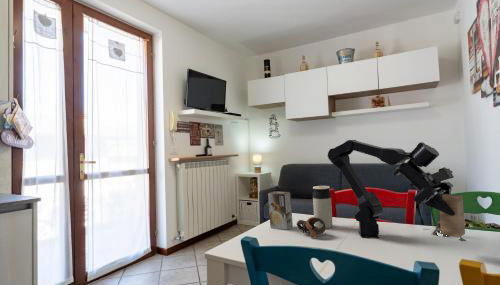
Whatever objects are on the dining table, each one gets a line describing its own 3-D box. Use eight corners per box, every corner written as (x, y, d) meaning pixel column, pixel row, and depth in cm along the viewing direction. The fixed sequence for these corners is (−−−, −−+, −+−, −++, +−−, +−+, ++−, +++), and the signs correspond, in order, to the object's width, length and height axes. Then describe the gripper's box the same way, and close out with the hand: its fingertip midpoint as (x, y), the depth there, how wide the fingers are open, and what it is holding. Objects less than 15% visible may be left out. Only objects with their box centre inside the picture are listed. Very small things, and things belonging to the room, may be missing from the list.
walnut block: (440, 233, 88) (438, 196, 89) (446, 230, 91) (444, 193, 92) (459, 237, 84) (457, 197, 85) (465, 233, 87) (462, 195, 88)
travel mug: (334, 228, 122) (332, 187, 123) (316, 229, 123) (314, 188, 123) (329, 223, 130) (327, 185, 131) (312, 224, 130) (310, 186, 131)
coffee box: (293, 226, 129) (291, 191, 129) (287, 230, 123) (285, 194, 124) (276, 224, 134) (274, 191, 134) (269, 227, 129) (267, 193, 129)
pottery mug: (324, 232, 120) (328, 218, 116) (322, 248, 112) (326, 234, 108) (296, 224, 123) (299, 210, 119) (292, 240, 115) (295, 225, 111)
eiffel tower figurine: (468, 243, 99) (466, 205, 99) (436, 242, 101) (434, 205, 102) (449, 230, 113) (447, 198, 114) (421, 230, 116) (419, 198, 116)
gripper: (422, 161, 86) (468, 202, 77) (444, 158, 97) (487, 193, 88) (397, 185, 92) (437, 225, 83) (421, 179, 103) (459, 214, 94)
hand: (456, 213), depth 87 cm, fingers closed on walnut block, 5 cm apart
